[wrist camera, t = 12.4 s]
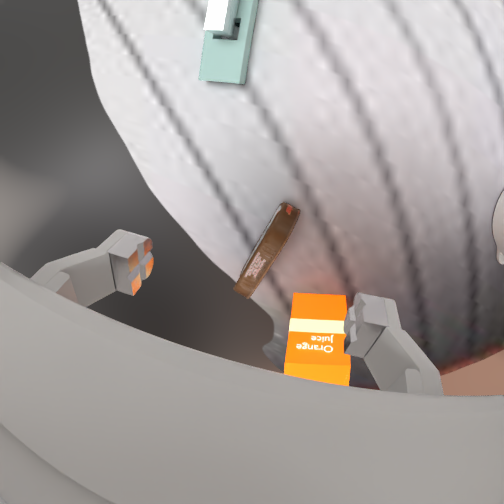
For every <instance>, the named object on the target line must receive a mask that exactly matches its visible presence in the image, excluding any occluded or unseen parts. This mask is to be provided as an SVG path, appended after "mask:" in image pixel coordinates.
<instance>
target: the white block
mask: <svg viewBox="0 0 504 504" xmlns="http://www.w3.org/2000/svg"><path fill="white" fill-rule="evenodd" d="M238 4H239V0H209V4H208V10H207V15H206V21H205V26H204V30H206V31H208V32H210V33H212V34H214V35H216V36H223V37H225V38H228V39H238V34H239V28H238V27H237V26H236V25H235V20H236V15H237V9H238Z"/></svg>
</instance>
